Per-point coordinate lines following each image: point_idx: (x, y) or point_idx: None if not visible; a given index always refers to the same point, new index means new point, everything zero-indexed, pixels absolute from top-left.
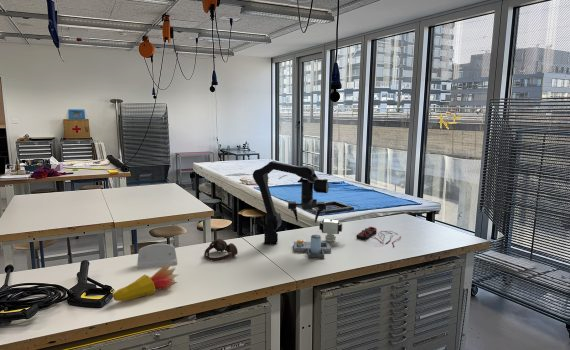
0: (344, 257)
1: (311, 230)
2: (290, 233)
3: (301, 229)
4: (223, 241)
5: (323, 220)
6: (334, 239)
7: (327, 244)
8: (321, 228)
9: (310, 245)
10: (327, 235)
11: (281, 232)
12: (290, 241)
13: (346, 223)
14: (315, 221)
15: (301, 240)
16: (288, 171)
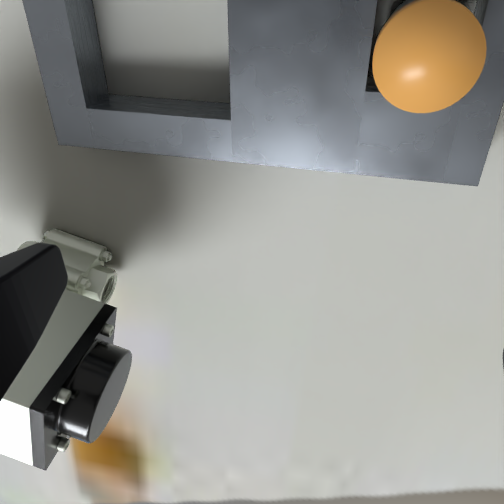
0: None
1: (230, 460)
2: (409, 446)
3: (302, 488)
4: None
5: (36, 439)
6: (33, 243)
7: (60, 55)
8: (100, 346)
9: (273, 12)
10: (75, 278)
11: (485, 476)
12: (470, 281)
13: (26, 498)
14: (34, 253)
15: (404, 59)
16: None
